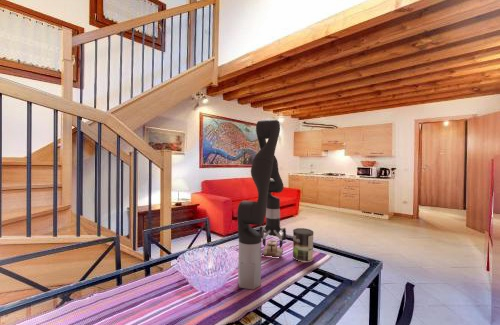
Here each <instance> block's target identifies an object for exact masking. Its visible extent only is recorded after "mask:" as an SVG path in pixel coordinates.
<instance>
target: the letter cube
mask: <svg viewBox="0 0 500 325" xmlns="http://www.w3.org/2000/svg"><path fill="white" fill-rule="evenodd" d="M266 247H267V253H276V252H277V248H278V240H271V239H268V240H267V241H266Z"/></svg>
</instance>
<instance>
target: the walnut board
mask: <svg viewBox="0 0 500 325" xmlns="http://www.w3.org/2000/svg"><path fill="white" fill-rule="evenodd" d="M282 250H284V248H283V247H281V248H280V247H277V252H276V253H267V246H264V248H263V250H262V251H261V255H264V256H272V257H279V258H281V259H282V256H281V254H282V255H283V251H282Z"/></svg>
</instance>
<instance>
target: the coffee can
mask: <svg viewBox="0 0 500 325" xmlns="http://www.w3.org/2000/svg"><path fill="white" fill-rule="evenodd" d="M292 233H293V235H292V236H293V237H292V238H293V239H292V258H293V257H294V258H295V259H296V260H298V261H297V262H299V261H301V262H300V263H310V262H313V261H314V257H313V255H314V231H313V230H312V229H310V228H305V227H301V228H294V229H293V230H292ZM296 260H295V261H296Z"/></svg>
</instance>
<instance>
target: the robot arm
mask: <svg viewBox="0 0 500 325" xmlns="http://www.w3.org/2000/svg"><path fill="white" fill-rule="evenodd" d="M280 131H281V123H280V121H279V120H278V119H260V120H258V121H257V122H256V124H255V132H256V137H257V138H256V139H257V141H258V144H259V145H258V146H259V148H260V149H259V151H258V152H257V153H256V154H255V155H254V157H253V159H252V163H251V168H250V175H251V178H252V180H253V182H254V185H255V187H256V190H257V201H254V200H242V201H240V202H239V204H238V206H237V213H236V214H237V235H238V260H237V262H238V268H237V269H238V270H237V271H238V274H237V275H238V276H237V278H238V279H237V280H238V281H237V283H238V288H241V289H249V290H255V289H256V288H258V287H260V286H261V284H262V257H261V254H262V245H263V247H266V246H267V239H266V238H267V237H268V236H273V237H275V236H276V237H277V238H278V240H279V248H283V242H284V241H286V239H287V228H286V227H281V211H280V210H281V209H280V207H281V206H280V205H281V202H280V198H279V197H278V196H274V195H273V193H275V194H277V193H278V194H280V193H282V192H283V191H284V182H283V179H282V177H281V175H280V171H279V163H278V159H277V156H276V155H275V153H276V150H277V149H276V148H277V143H278V140H279V137H280ZM266 140H267V141H266ZM264 222H265V226H263V224H264ZM251 225H252V226H260V227H259V231H258V230H256V229H254V228H253V227H252V226H251ZM264 230H265V232H266V233H265V234H264V235H263V232H264ZM280 232H282V233H283V236H282V235H281V233H280Z"/></svg>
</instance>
